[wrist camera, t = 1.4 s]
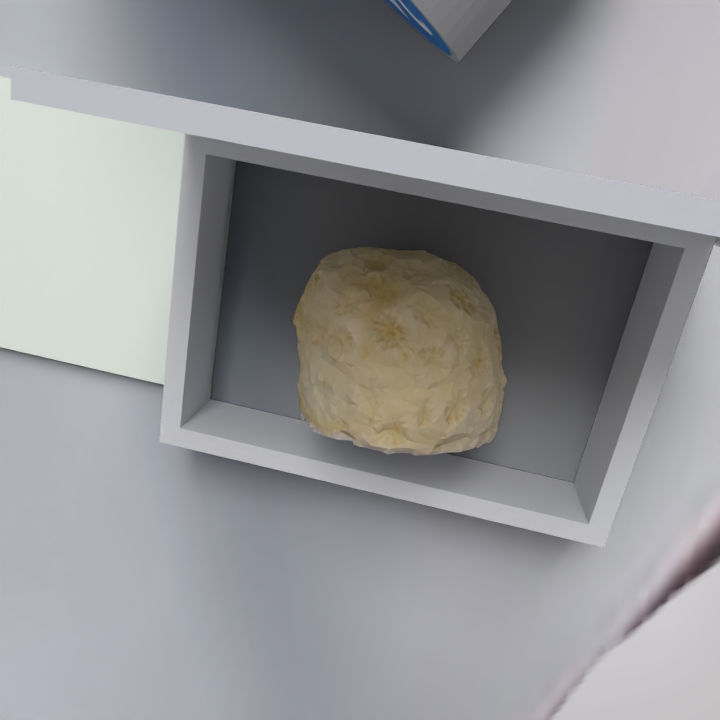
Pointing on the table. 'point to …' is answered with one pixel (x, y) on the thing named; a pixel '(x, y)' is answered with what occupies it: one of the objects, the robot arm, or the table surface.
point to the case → (431, 180)
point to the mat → (89, 238)
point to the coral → (398, 353)
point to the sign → (450, 21)
